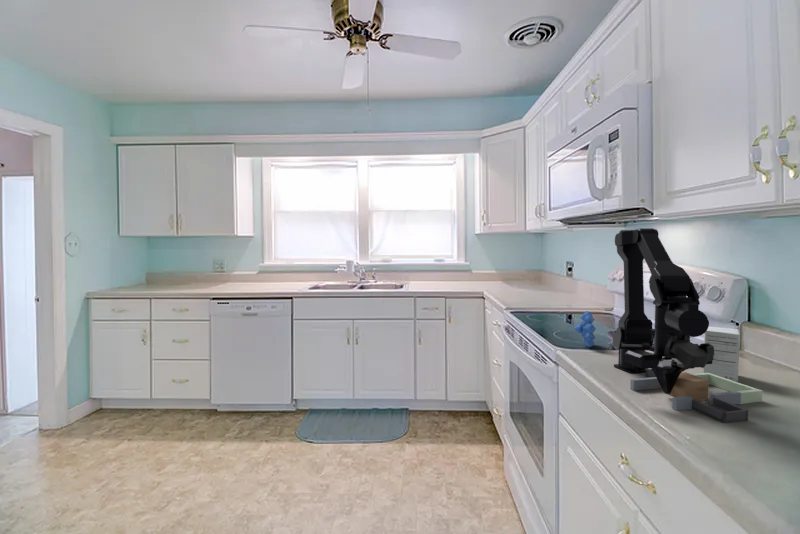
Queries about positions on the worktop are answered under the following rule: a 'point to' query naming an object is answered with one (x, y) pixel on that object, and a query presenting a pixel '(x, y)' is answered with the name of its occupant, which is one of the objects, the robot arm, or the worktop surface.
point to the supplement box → (723, 352)
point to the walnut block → (690, 387)
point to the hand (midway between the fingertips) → (666, 393)
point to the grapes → (586, 329)
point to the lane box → (719, 402)
